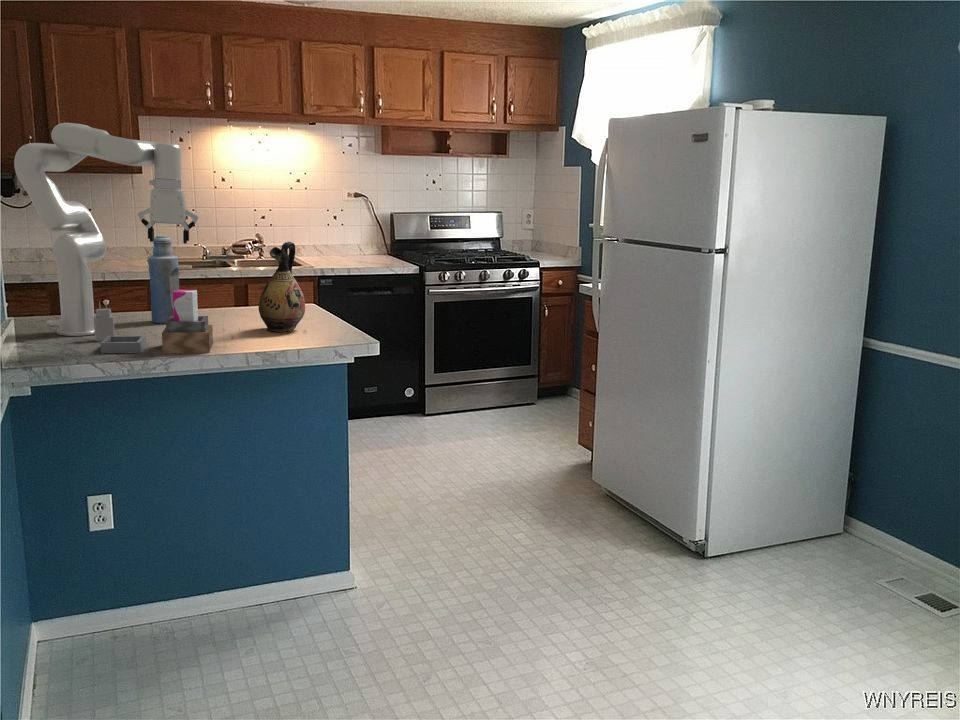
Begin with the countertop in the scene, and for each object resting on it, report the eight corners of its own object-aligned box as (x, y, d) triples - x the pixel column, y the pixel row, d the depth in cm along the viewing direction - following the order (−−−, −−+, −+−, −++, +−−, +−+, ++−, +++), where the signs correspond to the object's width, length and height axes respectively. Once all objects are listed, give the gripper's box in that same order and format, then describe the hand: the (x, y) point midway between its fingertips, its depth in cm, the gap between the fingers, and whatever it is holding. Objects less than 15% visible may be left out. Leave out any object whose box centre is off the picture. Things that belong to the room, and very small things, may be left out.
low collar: (100, 353, 235) (100, 343, 234) (108, 345, 245) (107, 335, 244) (140, 352, 237) (140, 342, 237) (146, 345, 248) (146, 335, 247)
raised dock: (162, 353, 238) (161, 322, 236) (168, 344, 250) (167, 315, 248) (209, 352, 241) (208, 322, 239) (213, 343, 253) (212, 315, 251)
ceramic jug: (290, 335, 270) (288, 244, 264) (250, 331, 275) (247, 242, 269) (316, 328, 286) (315, 241, 280) (278, 324, 291) (276, 239, 284)
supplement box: (199, 327, 247) (197, 289, 245) (194, 330, 242) (192, 292, 239) (179, 326, 247) (177, 289, 244) (173, 330, 241) (172, 291, 239)
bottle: (172, 324, 282) (168, 237, 275) (145, 323, 283) (141, 235, 277) (186, 320, 291) (182, 235, 285) (160, 318, 293) (156, 234, 286)
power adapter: (115, 340, 254) (113, 301, 251) (96, 341, 251) (94, 302, 248) (113, 338, 256) (111, 300, 254) (94, 339, 253) (92, 301, 251)
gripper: (134, 183, 241) (136, 242, 245) (196, 187, 245) (196, 245, 248) (139, 183, 248) (140, 239, 252) (199, 186, 252) (199, 242, 256)
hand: (168, 242), depth 250 cm, fingers open, 9 cm apart
